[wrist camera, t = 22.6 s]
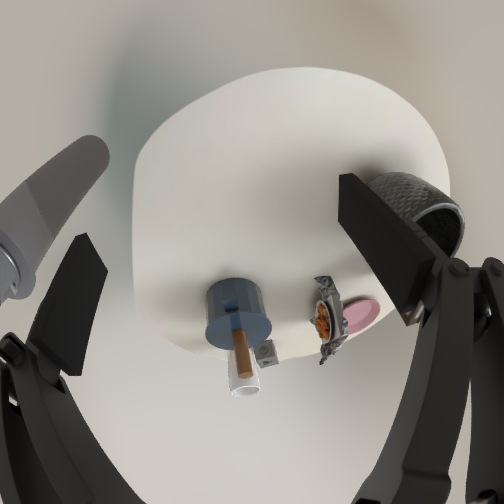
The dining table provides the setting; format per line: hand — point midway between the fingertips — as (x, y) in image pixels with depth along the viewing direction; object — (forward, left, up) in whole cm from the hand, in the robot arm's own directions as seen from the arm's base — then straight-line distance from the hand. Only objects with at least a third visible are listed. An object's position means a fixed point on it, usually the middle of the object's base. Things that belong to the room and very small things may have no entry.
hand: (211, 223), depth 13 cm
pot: (-3, -35, -27) cm, 44 cm away
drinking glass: (-5, -50, -27) cm, 57 cm away
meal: (+15, -42, -27) cm, 52 cm away
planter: (+27, -18, -27) cm, 42 cm away
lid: (-3, -35, -18) cm, 40 cm away
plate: (+26, -52, -27) cm, 64 cm away
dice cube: (+1, -57, -27) cm, 63 cm away
